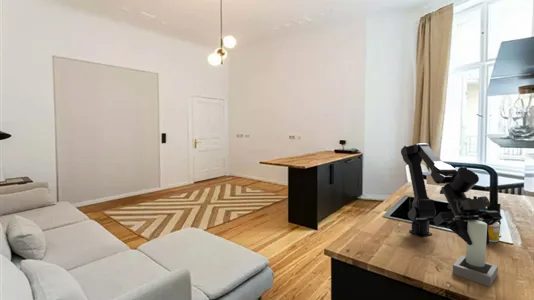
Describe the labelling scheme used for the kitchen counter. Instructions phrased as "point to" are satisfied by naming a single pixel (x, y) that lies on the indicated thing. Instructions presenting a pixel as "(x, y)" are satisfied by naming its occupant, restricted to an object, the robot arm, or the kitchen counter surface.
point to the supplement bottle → (494, 232)
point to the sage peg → (476, 243)
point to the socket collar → (474, 275)
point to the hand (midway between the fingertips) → (479, 244)
